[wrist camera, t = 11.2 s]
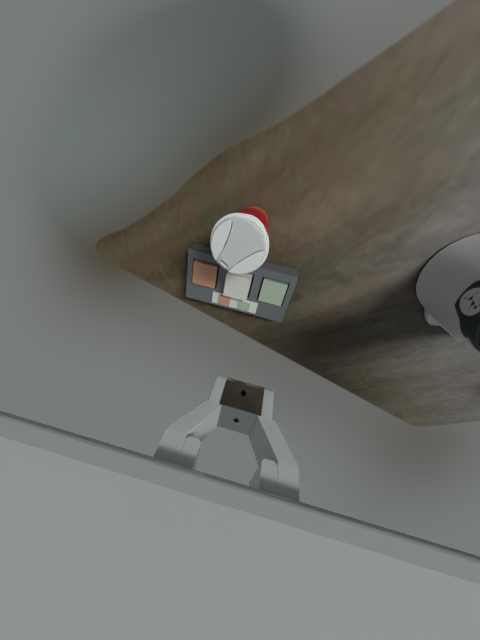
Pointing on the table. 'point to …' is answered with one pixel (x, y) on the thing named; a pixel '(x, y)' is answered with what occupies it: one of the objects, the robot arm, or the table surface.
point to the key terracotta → (205, 273)
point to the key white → (237, 285)
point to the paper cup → (241, 240)
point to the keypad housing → (252, 302)
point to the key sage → (272, 291)
